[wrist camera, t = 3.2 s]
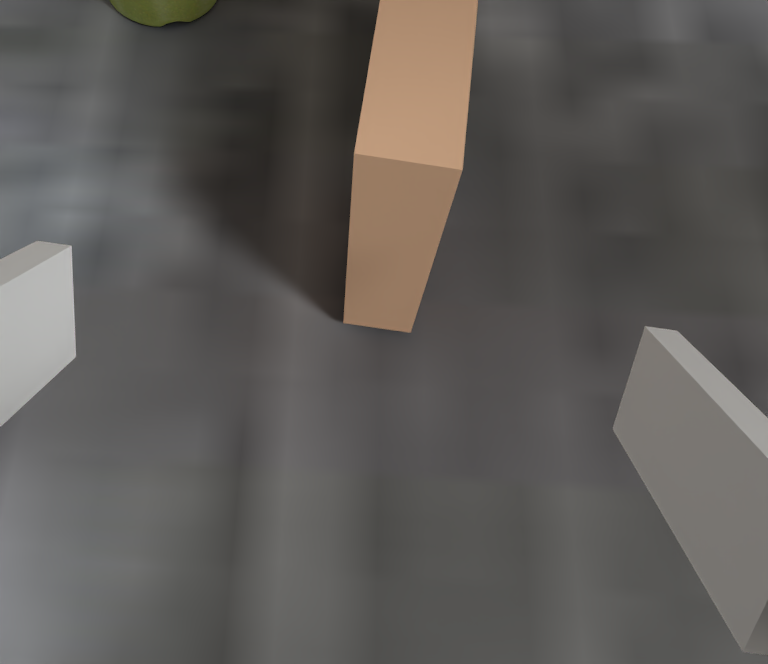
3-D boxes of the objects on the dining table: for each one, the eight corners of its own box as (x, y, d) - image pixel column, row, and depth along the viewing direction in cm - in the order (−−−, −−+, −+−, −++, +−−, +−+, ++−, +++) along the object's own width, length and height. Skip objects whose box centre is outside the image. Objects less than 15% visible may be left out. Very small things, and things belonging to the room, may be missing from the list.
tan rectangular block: (426, 199, 32) (479, -14, 21) (410, 332, 29) (462, 169, 18) (364, 190, 32) (384, -29, 21) (343, 323, 29) (354, 153, 18)
